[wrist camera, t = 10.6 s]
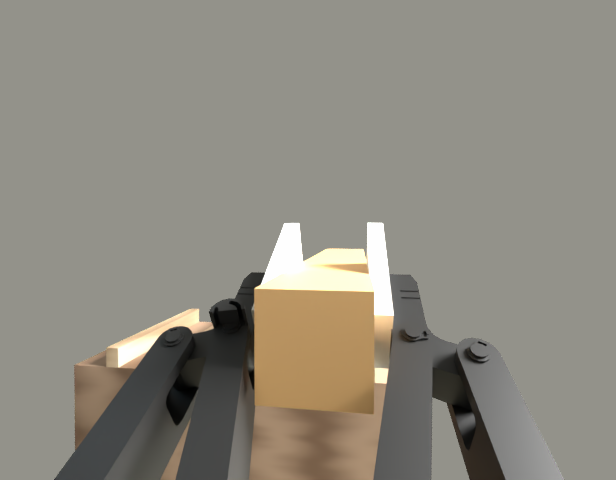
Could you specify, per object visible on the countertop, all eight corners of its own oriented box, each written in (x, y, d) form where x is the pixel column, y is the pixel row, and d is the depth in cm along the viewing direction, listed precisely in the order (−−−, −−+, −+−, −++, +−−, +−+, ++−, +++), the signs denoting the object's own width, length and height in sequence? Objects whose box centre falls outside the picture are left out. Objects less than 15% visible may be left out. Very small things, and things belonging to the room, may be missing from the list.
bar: (254, 405, 10) (254, 288, 10) (327, 284, 34) (327, 248, 34) (373, 414, 10) (374, 291, 10) (363, 285, 34) (363, 249, 33)
